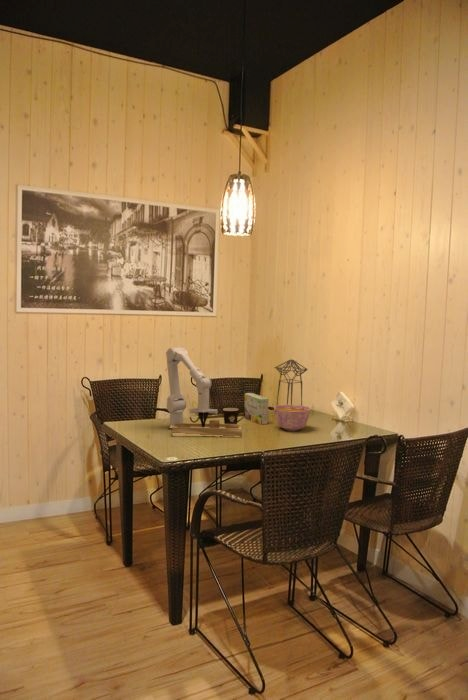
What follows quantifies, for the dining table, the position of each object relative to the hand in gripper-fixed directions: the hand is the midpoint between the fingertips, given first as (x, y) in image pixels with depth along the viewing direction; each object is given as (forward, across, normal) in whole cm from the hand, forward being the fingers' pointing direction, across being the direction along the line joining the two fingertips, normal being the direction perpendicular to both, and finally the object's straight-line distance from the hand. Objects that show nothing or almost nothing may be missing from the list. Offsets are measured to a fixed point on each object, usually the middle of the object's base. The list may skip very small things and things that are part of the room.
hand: (203, 426), depth 288 cm
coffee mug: (+4, +15, +17) cm, 23 cm away
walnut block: (+1, +6, 0) cm, 6 cm away
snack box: (+4, +28, +35) cm, 45 cm away
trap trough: (+4, +2, 0) cm, 4 cm away
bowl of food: (+4, +47, +15) cm, 50 cm away
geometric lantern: (+4, +50, +49) cm, 70 cm away
